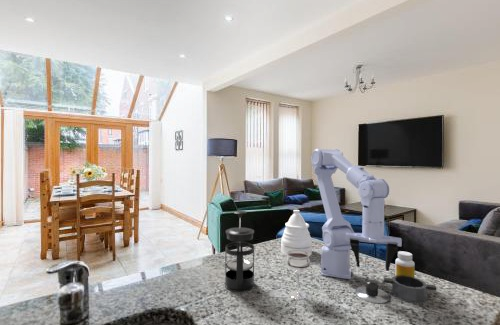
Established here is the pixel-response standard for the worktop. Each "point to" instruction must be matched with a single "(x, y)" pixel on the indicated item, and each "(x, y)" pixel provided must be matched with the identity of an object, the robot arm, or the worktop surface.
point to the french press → (239, 258)
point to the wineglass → (298, 268)
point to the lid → (372, 293)
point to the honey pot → (296, 235)
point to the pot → (409, 288)
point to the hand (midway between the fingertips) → (372, 267)
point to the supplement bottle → (404, 264)
